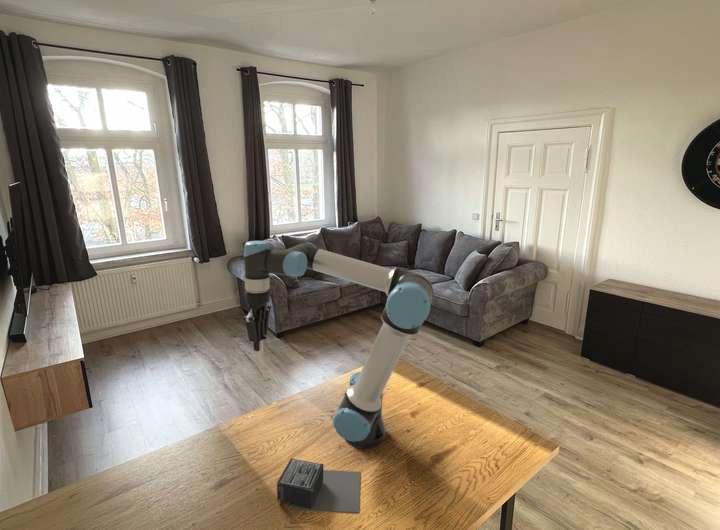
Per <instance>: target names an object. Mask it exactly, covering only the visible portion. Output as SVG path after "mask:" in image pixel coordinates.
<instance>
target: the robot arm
mask: <svg viewBox="0 0 720 530" xmlns="http://www.w3.org/2000/svg"><path fill="white" fill-rule="evenodd" d="M243 247H244V248H243V261H244V290H245V291H244V295H245V296H244V297H245V299H244V301H245V302H246V303H247V305H248V309H247V312H248V314H247V315H244V316H243V320H244V322H245V326H246V331H247V336H248V342H253V359H254V360H260V361H262V360H263V359H264V357H265V354H264V348H265V347H264V346H265V345H264V340H267V338H268V337H267V335H268V330H269V320H270V313H271V308H272V306H271V305H268V303H269V302H270V301H271V299H270V296H271V294H270V293H271V292H270V283H271V282H270V274H271V275H280V276H287V277H302V276H303V275H305V272H306V271H307V269H308V270H311V271H315V272H318V273H322V274H325V275H328V276H332V277H335V278H338V279H341V280H345V281H347V282H351V283H355V284H357V285H361V286H364V287H366V288H367V287H368V288H371V289H374V290H378V291H381V292H383V293H385V294H386V296H387V299H386V303H385V306H384V309H383V310H382V312H381V316H380V319H381V321H382V325H381V327H380V329H379V331H378V334H377V336H376V338H375V340H374V342H373V344H372V347H371V348H370V351H369V353H368V356H367V358H366V360H365V362H364V364H363V367H362V368H361V371H357V372H354V373H353V374H351V376H350V378H349V386H348V387H347V389H346V391H345V394H344V396H343V398H342V400H341V402H340V404H339V407H338V408H337V410H336V411H335V413H334V416H333V418H332V425H333V427H334V430H335V431H336V433H337V434H338V435H339V436H340V437H341V438H342V439H344V440H345V442H346V443H348V444H349V445H351V446H352V447H355V448H358V449H373V448H376V447H378V446H380V445H382V444H383V442H384V441H385V440H386V426H385V423H384V420H383V416H382V414H383V413H382V410H383V397H384V396H383V395H384V394H383V392H384V390H385V388H386V386H387V384H388V382H389V380H390V378H391V376H392V374H393V372H394V370H395V368H396V365H397V363H398V361H399V359H400V357H401V355H402V353H403V351H404V349H405V347H406V345H407V343H408V341H409V339H410V338H411V337H412V336H416V335H418V333H419V331H420V329H421V327H422V325H423V323H424V322H425V321H426V320H427V318H428V317H429V314H430V311H431V309H432V307H431V305H432V302H433V298H434V287H433V285H432V282H431V281H430V280H429V279H428V278H427V277H426V276H424V275H422V274H420V273H418V272H414V271H411V270H408V269H403V268H400V267H394V268H389V267H384V266H381V265H377V264H373V263H371V262H367V261H364V260H360V259H358V258H353V257H349V256H346V255H343V254H340V253H336V252H333V251H330V250H329V251H328V250H325V249H321V248H318V247H317V246H316V245H315V244H313V243H311V242H302V243H299V244H297V245H295V246H293V247H290V248H287V249H283V250H281V249H273V248H270V244H269V242H268V241H264V240H249V241H247V242H245V244H244V246H243Z"/></svg>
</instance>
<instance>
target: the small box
mask: <svg viewBox="0 0 720 530" xmlns="http://www.w3.org/2000/svg"><path fill="white" fill-rule="evenodd" d="M323 470H324V463H318V462H312V461H308V460H307V461H305V460H301V459H296V458H290V459H289V460H288V462H287V465H286V467H285V468H284V470H283V471H282V473H281V475H280V477H279V479H278V480H277V482H276V490H277V492H276V494H277V495H276V499H277V502H281V503H286V504H290V505H291V504H294V505H299V506H304V507H309V508H312V507H313V504H314V502H315V500H316V497H317V495H318V492H319V490H320V488H321V485H322V483H323Z"/></svg>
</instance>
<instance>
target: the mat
mask: <svg viewBox="0 0 720 530" xmlns="http://www.w3.org/2000/svg"><path fill="white" fill-rule="evenodd" d="M360 485H361V471H350V470H348V471H347V470H334V469H333V470H331V469H323V483H322V485H321V488H320V490H319V492H318V495H317V497H316V500H315V502H314V504H313V507H312V508H309V507H304V506H299V505H294V504H290V508H289V510H291V511H292V510H293V511H294V510H295V511H311V512H312V511H313V512H328V513H329V512H330V513H348V514H359V513H360V494H361V493H360V488H361V486H360Z"/></svg>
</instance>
